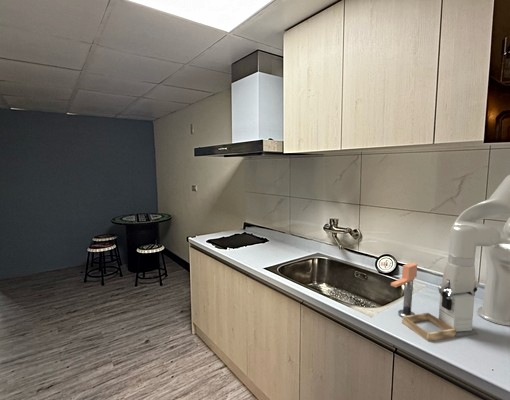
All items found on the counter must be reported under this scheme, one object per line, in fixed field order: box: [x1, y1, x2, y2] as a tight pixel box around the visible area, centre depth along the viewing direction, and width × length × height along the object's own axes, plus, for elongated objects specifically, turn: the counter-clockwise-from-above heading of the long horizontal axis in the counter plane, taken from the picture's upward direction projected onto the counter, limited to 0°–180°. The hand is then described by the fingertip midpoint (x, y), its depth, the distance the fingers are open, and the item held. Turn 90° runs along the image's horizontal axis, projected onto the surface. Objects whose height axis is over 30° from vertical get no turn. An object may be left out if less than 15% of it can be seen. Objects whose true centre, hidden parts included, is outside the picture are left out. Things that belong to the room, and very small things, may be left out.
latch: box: [390, 262, 418, 288], centre depth 109 cm, size 2×14×6 cm, turn 124°
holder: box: [401, 312, 456, 342], centre depth 103 cm, size 12×12×2 cm
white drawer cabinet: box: [438, 289, 475, 332], centre depth 103 cm, size 7×7×13 cm
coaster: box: [454, 328, 478, 338], centre depth 104 cm, size 9×9×1 cm
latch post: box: [397, 280, 416, 318], centre depth 112 cm, size 6×6×14 cm
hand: (457, 306), depth 103 cm, fingers open, 9 cm apart
